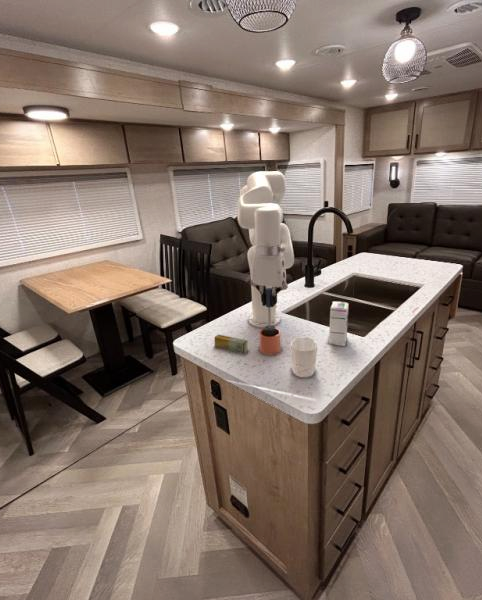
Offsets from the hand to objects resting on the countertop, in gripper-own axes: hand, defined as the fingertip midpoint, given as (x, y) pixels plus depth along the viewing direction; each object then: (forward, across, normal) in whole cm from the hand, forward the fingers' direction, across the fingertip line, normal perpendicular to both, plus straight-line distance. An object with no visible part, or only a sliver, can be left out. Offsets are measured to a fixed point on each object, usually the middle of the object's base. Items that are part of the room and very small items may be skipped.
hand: (269, 304), depth 104 cm
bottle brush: (+16, 0, 0) cm, 16 cm away
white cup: (+17, -14, +9) cm, 24 cm away
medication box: (+17, +13, +4) cm, 22 cm away
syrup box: (+17, -21, -12) cm, 30 cm away
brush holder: (+17, 0, 0) cm, 17 cm away
